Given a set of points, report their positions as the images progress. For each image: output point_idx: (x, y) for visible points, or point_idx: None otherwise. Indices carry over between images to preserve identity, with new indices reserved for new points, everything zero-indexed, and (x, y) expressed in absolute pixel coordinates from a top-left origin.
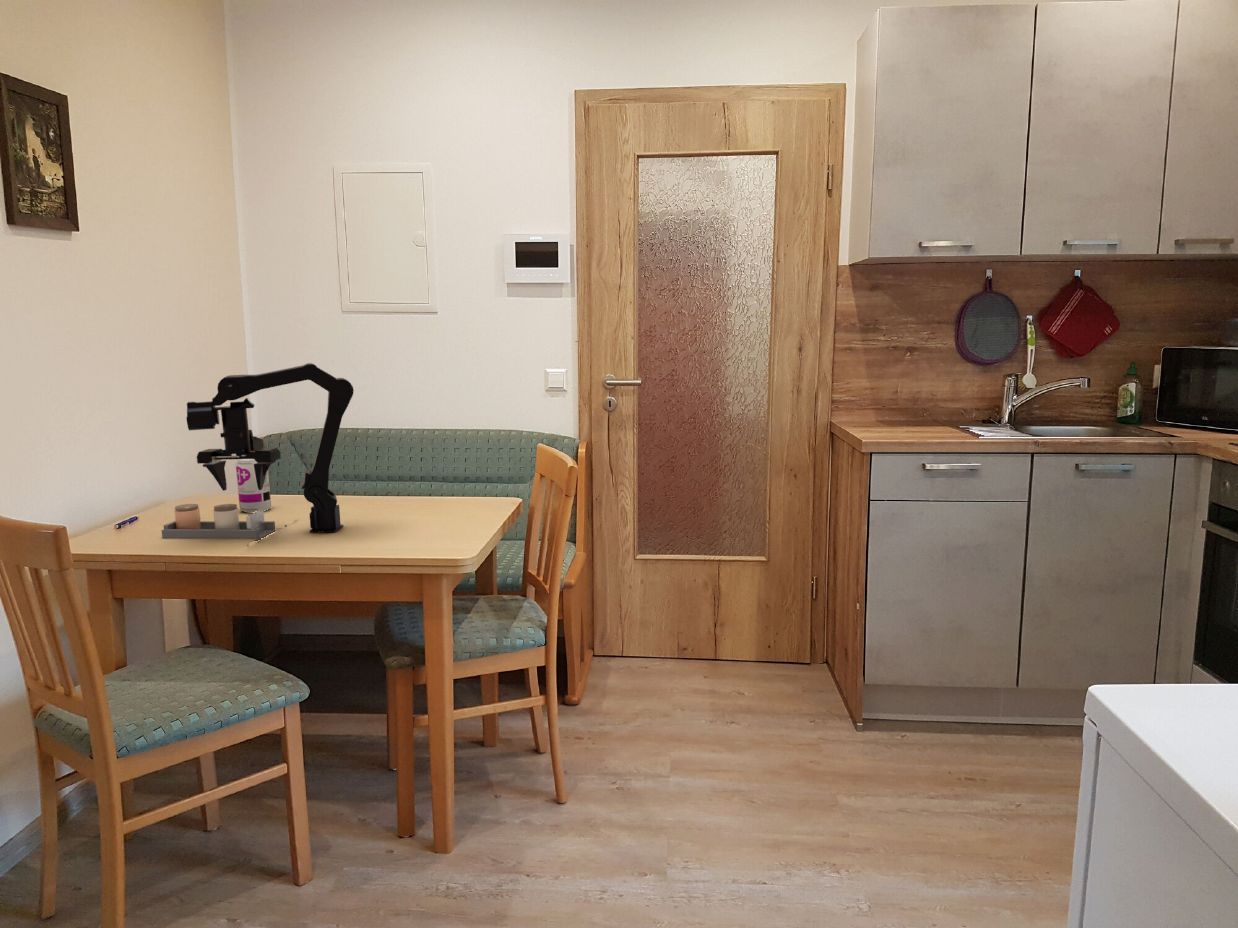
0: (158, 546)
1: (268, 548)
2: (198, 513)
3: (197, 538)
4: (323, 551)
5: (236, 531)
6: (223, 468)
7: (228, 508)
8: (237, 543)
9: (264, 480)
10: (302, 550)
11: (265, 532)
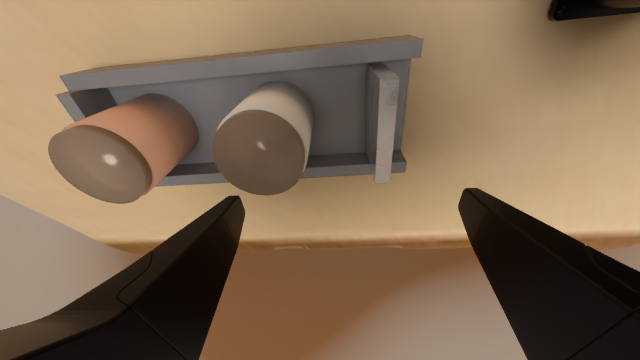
0: (183, 198)
1: (443, 193)
2: (158, 149)
3: None
4: (582, 204)
5: (344, 174)
6: (127, 326)
7: (294, 182)
8: None
9: (536, 221)
10: (530, 201)
11: None
